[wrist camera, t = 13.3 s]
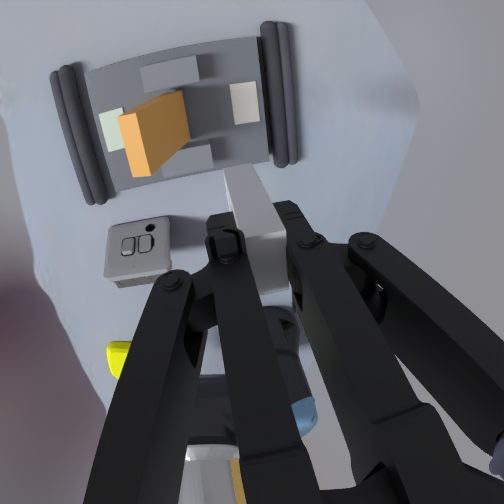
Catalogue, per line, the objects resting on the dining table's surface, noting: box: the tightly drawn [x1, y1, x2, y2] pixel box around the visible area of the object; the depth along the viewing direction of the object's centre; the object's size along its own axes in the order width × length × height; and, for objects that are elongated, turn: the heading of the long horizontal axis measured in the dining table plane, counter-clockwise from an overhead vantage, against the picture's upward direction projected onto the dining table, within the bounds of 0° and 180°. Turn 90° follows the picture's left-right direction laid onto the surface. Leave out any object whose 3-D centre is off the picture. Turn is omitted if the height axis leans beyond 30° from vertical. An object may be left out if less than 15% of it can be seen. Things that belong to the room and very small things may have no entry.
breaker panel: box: [84, 37, 269, 192], centre depth 35 cm, size 16×20×5 cm
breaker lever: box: [117, 88, 191, 177], centre depth 30 cm, size 7×2×11 cm, turn 7°
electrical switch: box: [104, 217, 172, 288], centre depth 43 cm, size 9×5×9 cm, turn 94°
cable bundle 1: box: [50, 65, 108, 205], centre depth 35 cm, size 20×3×2 cm, turn 7°
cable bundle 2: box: [260, 21, 298, 168], centre depth 37 cm, size 20×3×2 cm, turn 7°
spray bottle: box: [107, 342, 131, 380], centre depth 65 cm, size 3×11×24 cm
